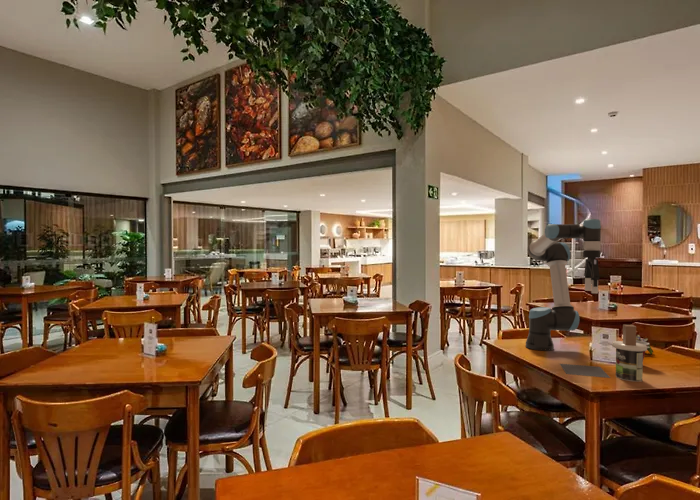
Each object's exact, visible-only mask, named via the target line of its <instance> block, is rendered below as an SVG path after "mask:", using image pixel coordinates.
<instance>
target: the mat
mask: <svg viewBox="0 0 700 500" xmlns="http://www.w3.org/2000/svg"><path fill="white" fill-rule="evenodd" d="M559 365H560V367H561V368H562V369H563V371H564V373H565V374H566V375H574V376H586V377H595V378H607V379H611V377H610V375H608V373H607V372H605V371H604V369H603V368H602V367H601V366H594V365H584V364H583V365H581V364H572V363H571V364H570V363H559Z"/></svg>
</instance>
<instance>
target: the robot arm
mask: <svg viewBox="0 0 700 500" xmlns="http://www.w3.org/2000/svg"><path fill="white" fill-rule="evenodd" d="M601 224H602V223H601V220H600V219H598V218H597V219H596V218H591V219H589V218H586V219H584V220H583V224H582V223H581V224H580V223H579V224H578V223H577V224H575V223H574V224H573V223H569V224H568V223H567V224H566V223H565V224H562V223H561V224H560V223H559V224H557V223H556V224H555V223H553V224H551V223H549V224H546V226H545V228H544V233H542V235H541V236H540V237H539V238H538V239H537V240H533V241H531V242H530V244H528V247H527V253H528V255H529V257H531V259H533V260H535V261H538V262H545V263H546V266H547V267H549V271H550V272H549V273H550V274H549V275H550V280H551V289H552V298H553V306H552V307H547V306H544V307H543V306H542V307H540V306H539V307H533V308H531V309H530V310H529V314H528V336H527V338H526V340H525V347H526V348H527V349H531V350H536V351H548V352H549V351H554V349H555V348H554V347H555V346H554V342H553V338H552V336H551V333H552V332H551V331H566V332H569V331H576V330H577V328H578V327H579V324H580V314H579V311H577V310H576V309H575V306H573V305H572V303H571V299H570V292H569V285H568V277H567V269H566V265H567V264H568V262H569V261H570V260H571V249H570V247H569V245H568V244H567V243H565V242H560V241H559V240H562V239H577V240H578V239H579V240H583V241H582V242H583V243H581V245H582V246H583V248H582V249H583V251H582V256H583V258H585V265H584V272H583V277H584V291H587V292H590V293H591V294H599V280H600V279H601V278H600V271H599V270H600V269H599V258H601V245H602V244H601V234H602V232H601V230H602V226H601ZM586 258H587V259H586Z"/></svg>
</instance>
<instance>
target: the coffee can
mask: <svg viewBox="0 0 700 500" xmlns="http://www.w3.org/2000/svg"><path fill="white" fill-rule="evenodd" d="M643 362H644V359H643V351H628V350H622V349H617V348H615V377H616V378H617V379H620V380H623V381H628V382H643V381H644V380H643V374H644V373H643V370H644V369H643V368H644V367H643V366H644V364H643Z"/></svg>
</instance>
